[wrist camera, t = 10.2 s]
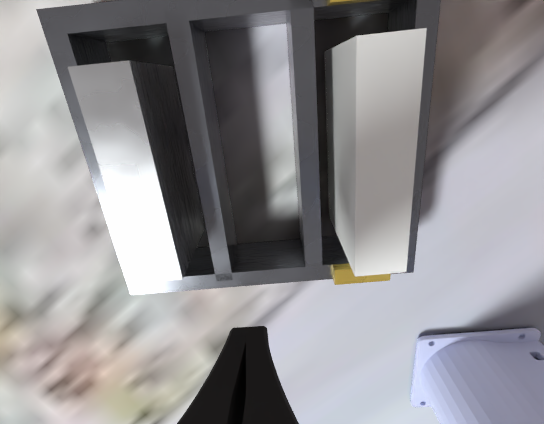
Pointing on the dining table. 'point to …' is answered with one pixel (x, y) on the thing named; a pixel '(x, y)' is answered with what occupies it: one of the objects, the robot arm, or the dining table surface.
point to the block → (373, 145)
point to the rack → (204, 136)
